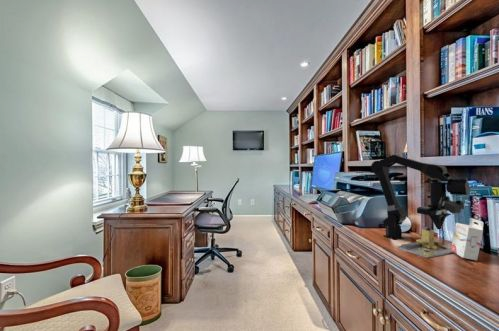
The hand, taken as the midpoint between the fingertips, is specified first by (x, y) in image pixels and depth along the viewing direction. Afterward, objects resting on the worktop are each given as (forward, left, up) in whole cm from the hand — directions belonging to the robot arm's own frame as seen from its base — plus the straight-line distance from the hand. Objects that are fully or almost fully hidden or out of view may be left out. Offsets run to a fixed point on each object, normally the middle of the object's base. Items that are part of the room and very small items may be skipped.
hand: (439, 229), depth 109 cm
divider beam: (0, -8, -7) cm, 11 cm away
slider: (0, -7, -7) cm, 10 cm away
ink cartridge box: (+12, -4, -7) cm, 14 cm away
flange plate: (+1, -8, -8) cm, 11 cm away
